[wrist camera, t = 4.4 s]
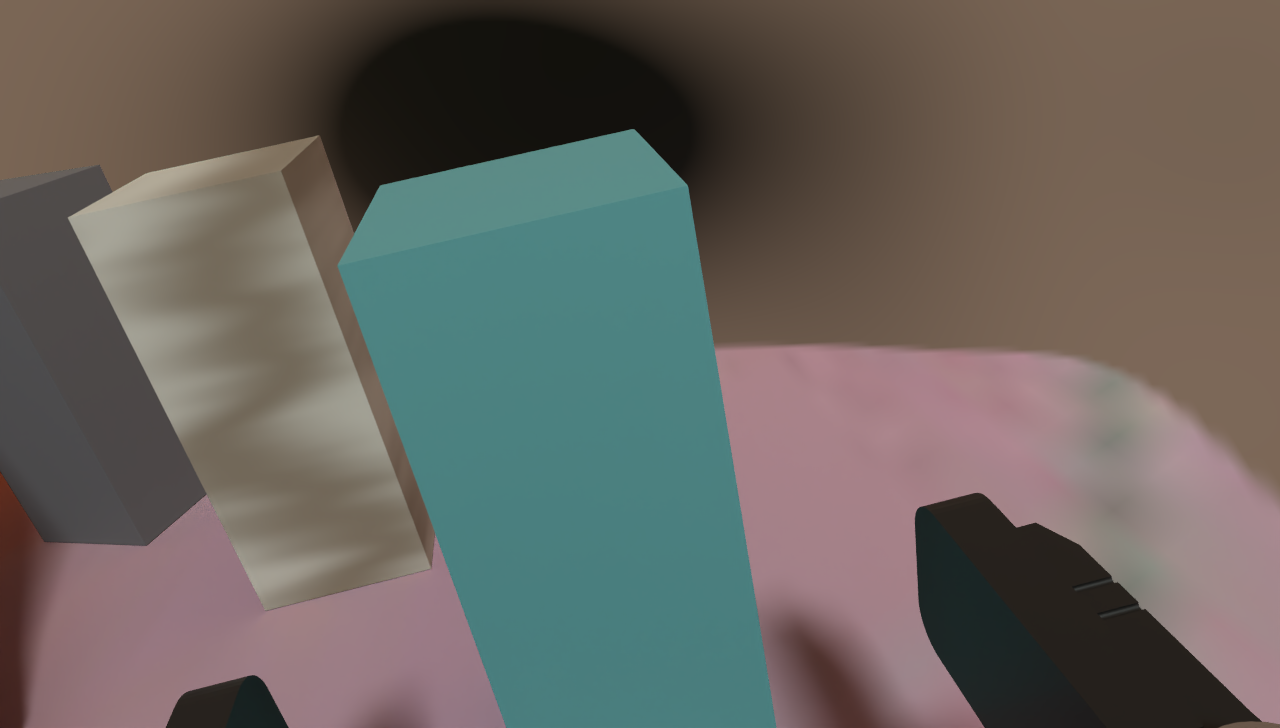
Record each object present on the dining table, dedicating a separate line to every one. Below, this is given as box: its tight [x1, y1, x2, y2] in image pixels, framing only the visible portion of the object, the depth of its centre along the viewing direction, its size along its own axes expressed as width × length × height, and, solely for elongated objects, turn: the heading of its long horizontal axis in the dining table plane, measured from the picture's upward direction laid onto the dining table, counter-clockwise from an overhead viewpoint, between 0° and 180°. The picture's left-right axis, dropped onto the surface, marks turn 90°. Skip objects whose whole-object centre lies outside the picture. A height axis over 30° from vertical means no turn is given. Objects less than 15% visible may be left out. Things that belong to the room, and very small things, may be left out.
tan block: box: [68, 136, 435, 611], centre depth 22 cm, size 4×4×11 cm
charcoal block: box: [0, 165, 206, 546], centre depth 27 cm, size 4×4×11 cm
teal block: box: [337, 129, 776, 728], centre depth 15 cm, size 4×4×11 cm
